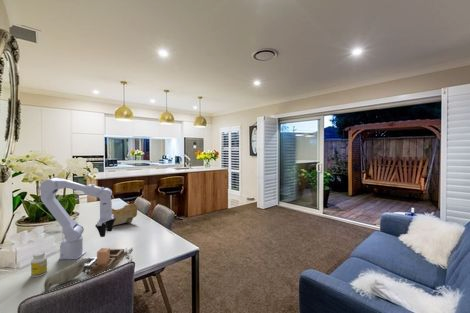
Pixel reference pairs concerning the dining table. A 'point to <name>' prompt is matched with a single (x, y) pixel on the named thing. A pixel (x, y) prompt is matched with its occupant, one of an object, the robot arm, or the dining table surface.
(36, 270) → the supplement bottle
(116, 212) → the rough brown rock
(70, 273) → the decorative bird
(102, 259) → the peg
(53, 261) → the dining table surface
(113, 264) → the rack
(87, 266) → the socket
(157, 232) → the dining table surface
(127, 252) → the pliers
